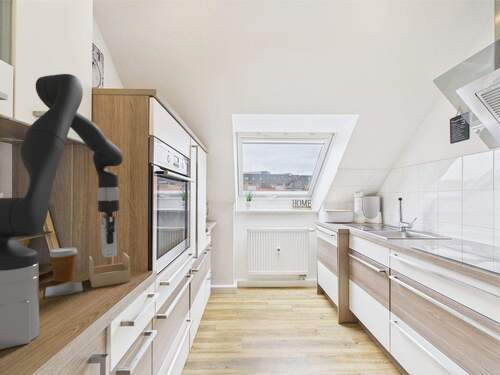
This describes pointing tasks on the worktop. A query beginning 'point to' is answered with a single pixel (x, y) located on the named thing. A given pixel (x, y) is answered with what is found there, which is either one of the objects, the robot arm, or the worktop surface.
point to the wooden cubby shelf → (109, 273)
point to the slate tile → (63, 289)
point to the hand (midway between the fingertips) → (108, 242)
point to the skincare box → (108, 249)
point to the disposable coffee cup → (63, 263)
